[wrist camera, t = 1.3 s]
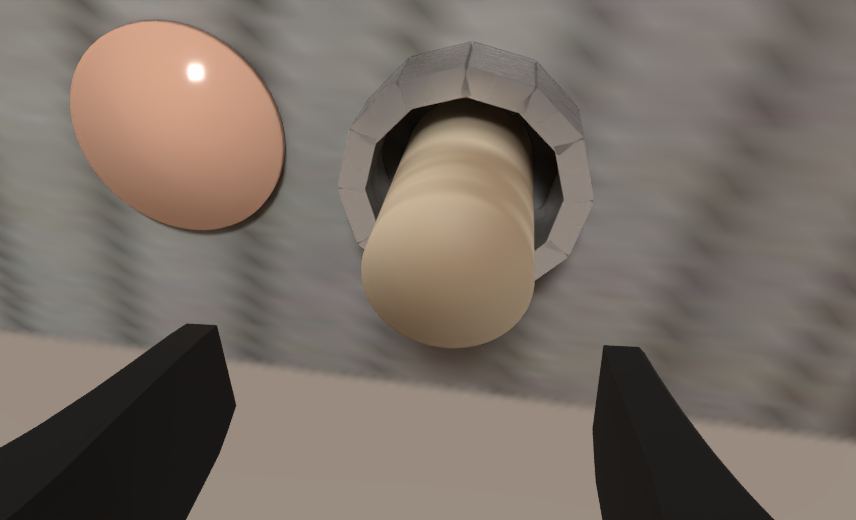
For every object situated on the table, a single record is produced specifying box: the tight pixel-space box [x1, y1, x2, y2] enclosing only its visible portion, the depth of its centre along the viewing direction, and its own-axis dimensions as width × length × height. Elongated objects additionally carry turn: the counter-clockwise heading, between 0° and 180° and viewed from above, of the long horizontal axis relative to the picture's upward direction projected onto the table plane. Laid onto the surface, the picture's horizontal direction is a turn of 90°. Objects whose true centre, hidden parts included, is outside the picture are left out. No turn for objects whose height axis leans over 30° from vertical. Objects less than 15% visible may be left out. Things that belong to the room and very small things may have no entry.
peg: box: [361, 98, 535, 348], centre depth 18 cm, size 4×4×7 cm
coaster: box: [70, 20, 285, 230], centre depth 22 cm, size 7×7×1 cm
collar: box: [338, 42, 594, 280], centre depth 20 cm, size 7×7×2 cm
